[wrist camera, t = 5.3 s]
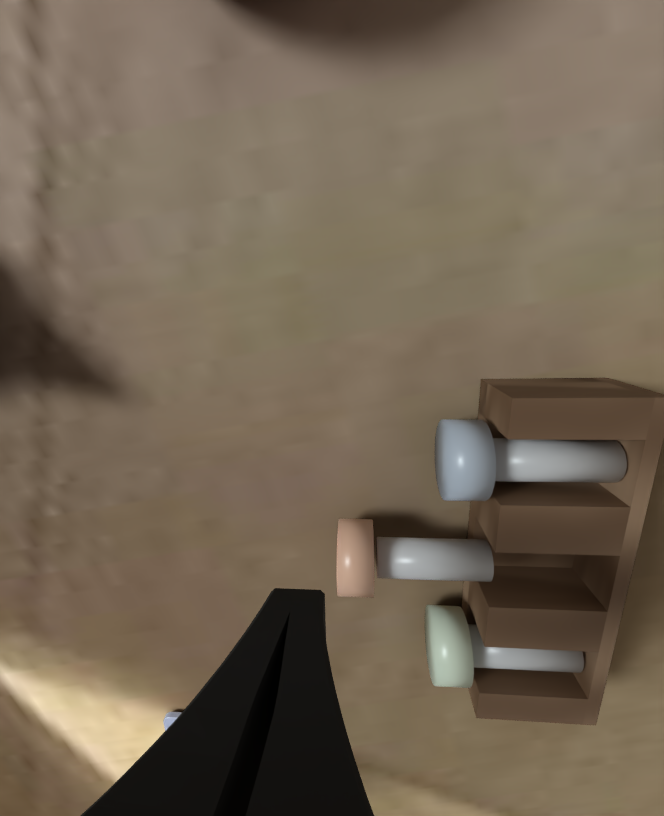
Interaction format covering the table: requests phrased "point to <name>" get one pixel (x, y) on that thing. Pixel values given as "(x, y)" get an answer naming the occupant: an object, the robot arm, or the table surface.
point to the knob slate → (516, 460)
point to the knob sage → (480, 651)
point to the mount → (559, 544)
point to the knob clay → (405, 558)
